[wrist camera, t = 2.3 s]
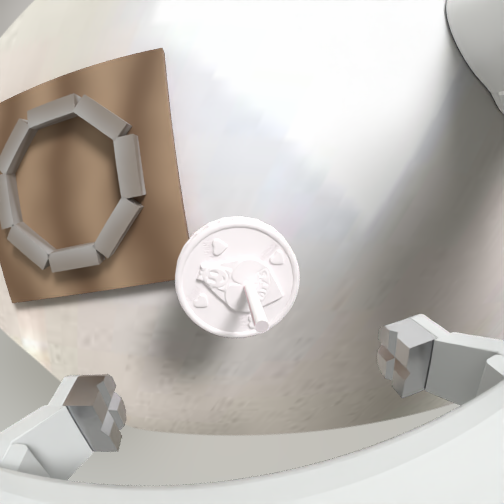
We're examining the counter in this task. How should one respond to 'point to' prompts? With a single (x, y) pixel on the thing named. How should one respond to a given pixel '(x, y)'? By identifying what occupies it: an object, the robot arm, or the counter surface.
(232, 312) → the smoothie
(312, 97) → the counter surface
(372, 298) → the counter surface
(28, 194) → the socket
